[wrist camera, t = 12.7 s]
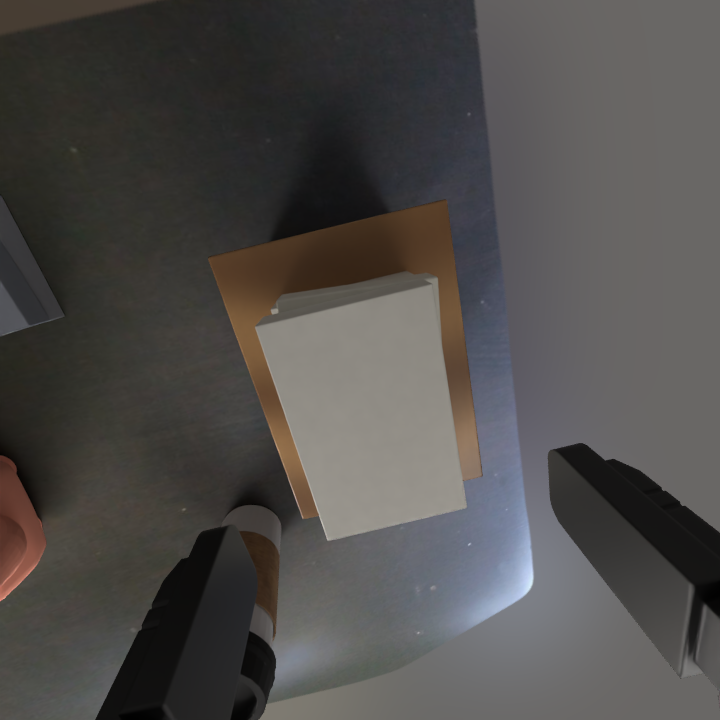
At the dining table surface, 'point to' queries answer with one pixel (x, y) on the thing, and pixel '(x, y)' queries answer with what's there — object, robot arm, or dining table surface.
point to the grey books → (21, 281)
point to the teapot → (17, 530)
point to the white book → (368, 406)
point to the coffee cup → (258, 609)
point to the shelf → (343, 267)
